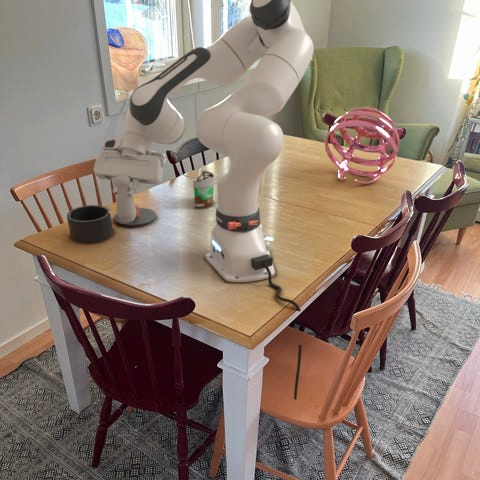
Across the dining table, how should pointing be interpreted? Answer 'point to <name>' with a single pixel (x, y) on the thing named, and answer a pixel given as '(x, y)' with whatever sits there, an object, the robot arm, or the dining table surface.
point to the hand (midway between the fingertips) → (122, 194)
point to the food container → (204, 190)
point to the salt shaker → (124, 200)
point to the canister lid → (139, 217)
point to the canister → (90, 224)
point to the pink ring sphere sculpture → (355, 144)
